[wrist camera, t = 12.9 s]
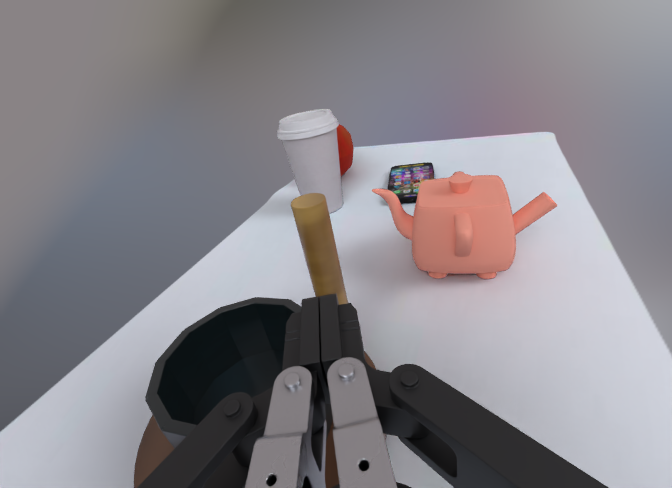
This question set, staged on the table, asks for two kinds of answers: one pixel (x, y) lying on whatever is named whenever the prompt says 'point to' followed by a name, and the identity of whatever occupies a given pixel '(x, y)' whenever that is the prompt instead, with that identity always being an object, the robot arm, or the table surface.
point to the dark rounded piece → (237, 351)
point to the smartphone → (409, 180)
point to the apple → (344, 149)
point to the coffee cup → (314, 153)
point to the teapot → (464, 224)
